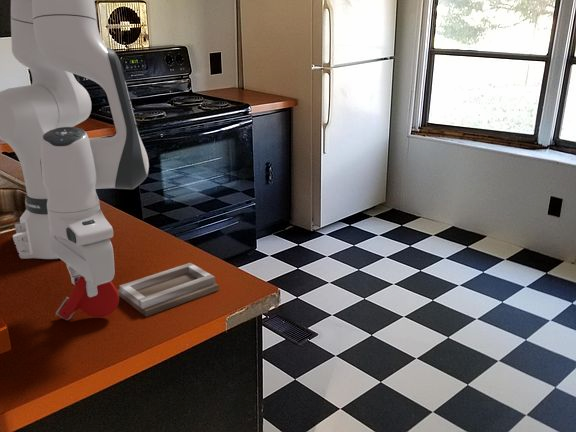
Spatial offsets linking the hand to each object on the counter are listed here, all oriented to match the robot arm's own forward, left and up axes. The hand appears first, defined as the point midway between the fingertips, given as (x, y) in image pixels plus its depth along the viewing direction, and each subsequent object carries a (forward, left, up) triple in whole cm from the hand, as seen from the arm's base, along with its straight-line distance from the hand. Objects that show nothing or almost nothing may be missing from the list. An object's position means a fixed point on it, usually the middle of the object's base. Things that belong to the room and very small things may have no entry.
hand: (84, 289), depth 112 cm
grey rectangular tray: (0, +18, -7) cm, 19 cm away
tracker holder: (0, 0, -7) cm, 7 cm away
